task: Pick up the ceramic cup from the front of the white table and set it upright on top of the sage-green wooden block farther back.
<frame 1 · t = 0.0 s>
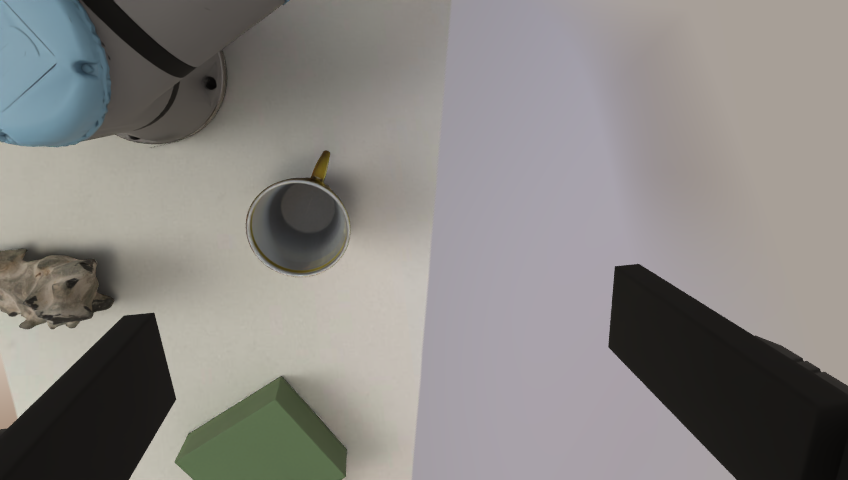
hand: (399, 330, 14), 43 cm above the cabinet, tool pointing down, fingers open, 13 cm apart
ceramic cup: (313, 194, 56), on the cabinet
green block: (270, 442, 65), on the cabinet
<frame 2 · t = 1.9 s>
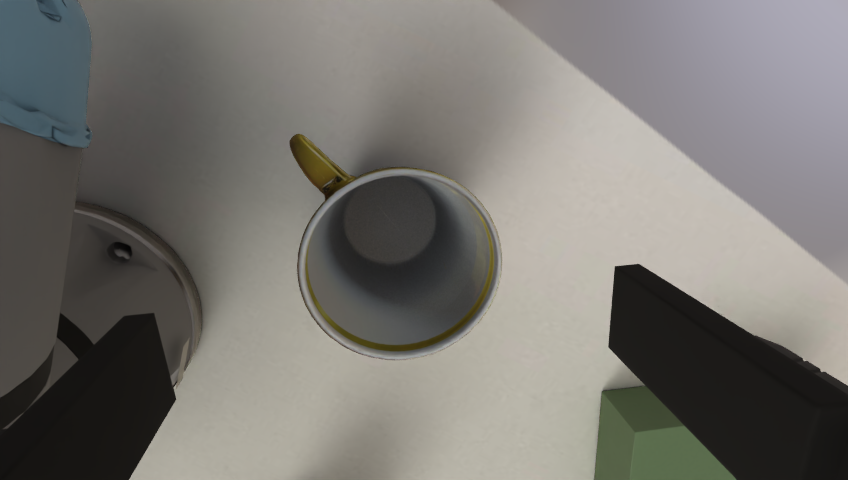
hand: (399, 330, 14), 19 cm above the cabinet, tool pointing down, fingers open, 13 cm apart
ceramic cup: (375, 200, 32), on the cabinet
green block: (674, 452, 42), on the cabinet
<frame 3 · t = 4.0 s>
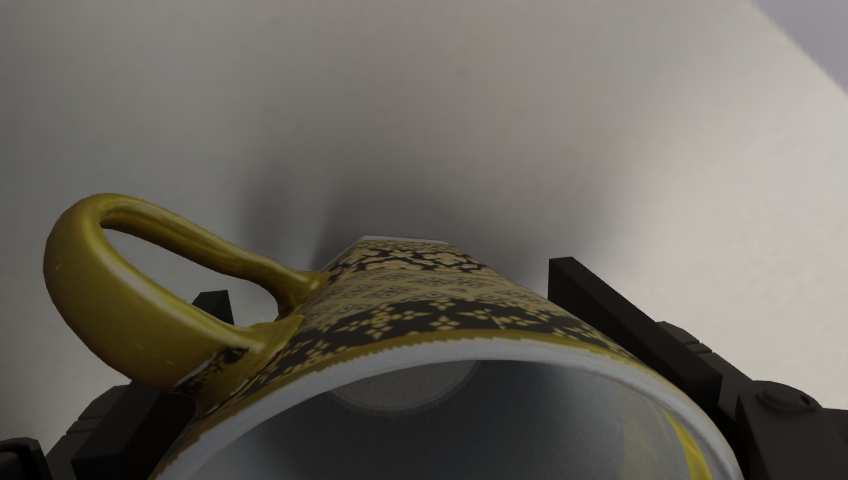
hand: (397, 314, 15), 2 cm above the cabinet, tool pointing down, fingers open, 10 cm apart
ceramic cup: (366, 290, 16), on the cabinet, touching gripper
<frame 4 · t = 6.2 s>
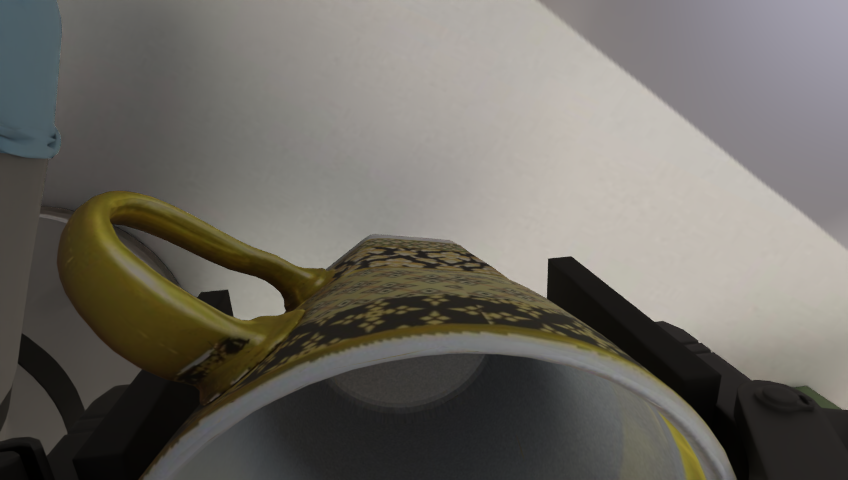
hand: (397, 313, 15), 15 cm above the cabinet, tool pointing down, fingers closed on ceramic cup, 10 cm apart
ceramic cup: (374, 289, 16), point 13 cm above the cabinet, touching gripper
green block: (707, 473, 39), on the cabinet
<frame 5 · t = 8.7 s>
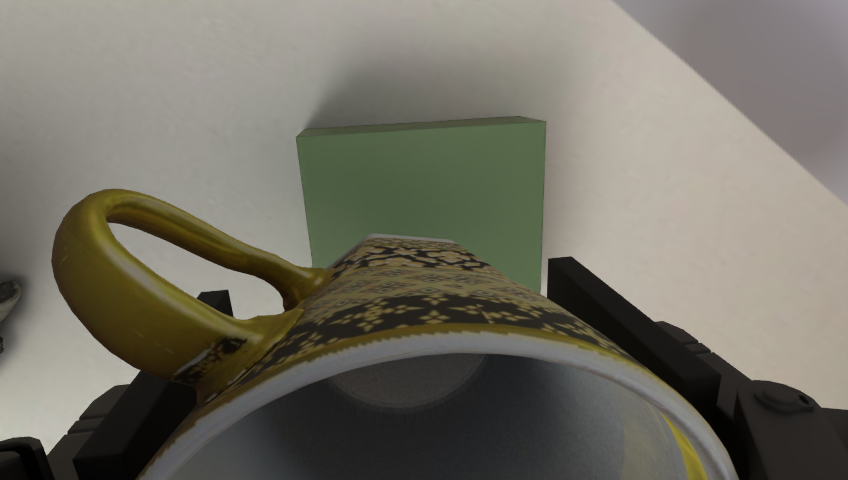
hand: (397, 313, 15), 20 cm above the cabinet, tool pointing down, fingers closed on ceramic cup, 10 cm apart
ceramic cup: (374, 288, 16), point 18 cm above the cabinet, touching gripper
green block: (420, 226, 35), on the cabinet
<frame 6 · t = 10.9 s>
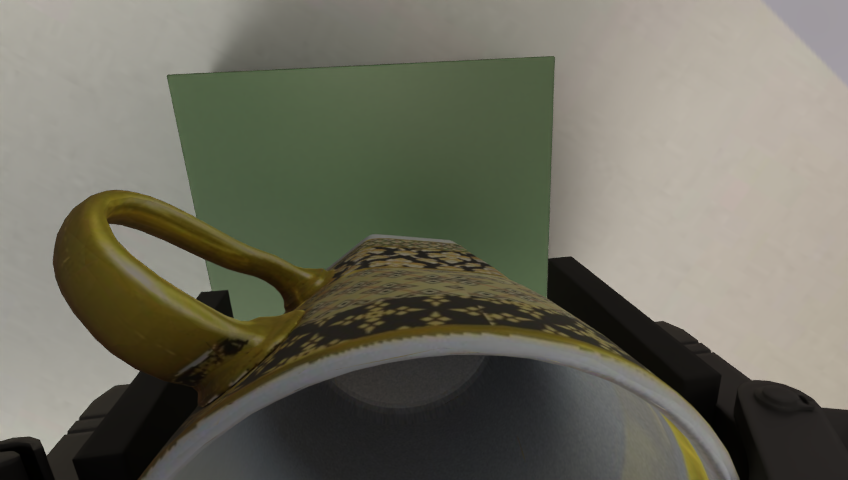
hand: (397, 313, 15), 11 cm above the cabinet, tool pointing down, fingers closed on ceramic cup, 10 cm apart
ceramic cup: (374, 289, 16), point 9 cm above the cabinet, touching gripper
green block: (379, 218, 25), on the cabinet
when the fingers open (7 cm above the cabinet, at t = 12.5 s): ceramic cup stays where it is, resting on green block.
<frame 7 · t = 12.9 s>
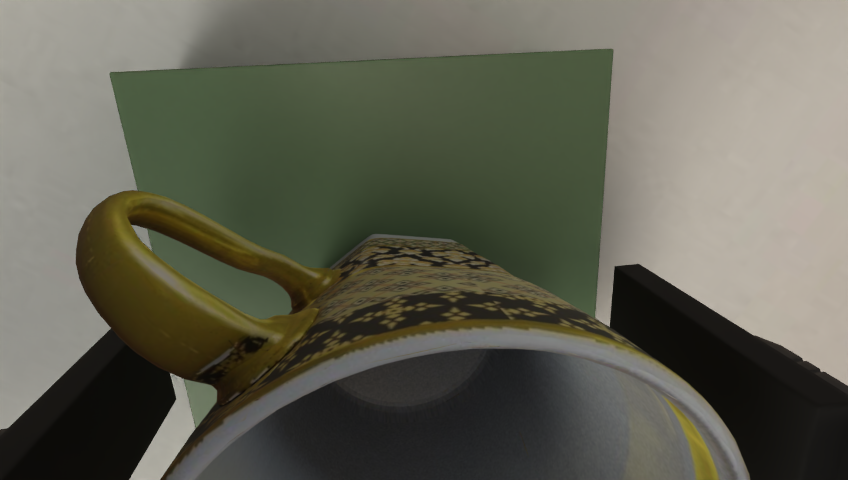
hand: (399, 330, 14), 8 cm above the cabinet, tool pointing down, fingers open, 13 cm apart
ceramic cup: (375, 288, 16), point 5 cm above the cabinet, touching green block
green block: (385, 245, 21), on the cabinet
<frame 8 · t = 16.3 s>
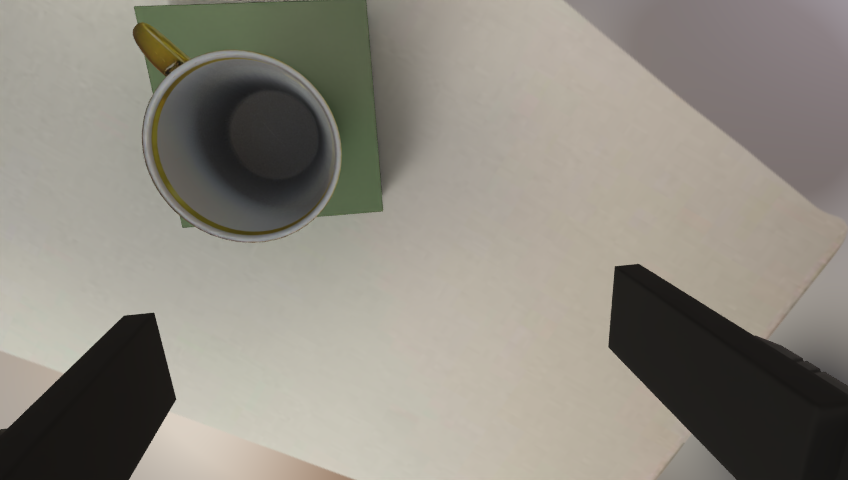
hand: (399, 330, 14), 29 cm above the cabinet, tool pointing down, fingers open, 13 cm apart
ceramic cup: (261, 118, 34), point 5 cm above the cabinet, touching green block
green block: (280, 114, 38), on the cabinet
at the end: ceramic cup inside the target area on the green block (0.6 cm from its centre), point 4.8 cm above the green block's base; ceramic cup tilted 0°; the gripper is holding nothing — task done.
